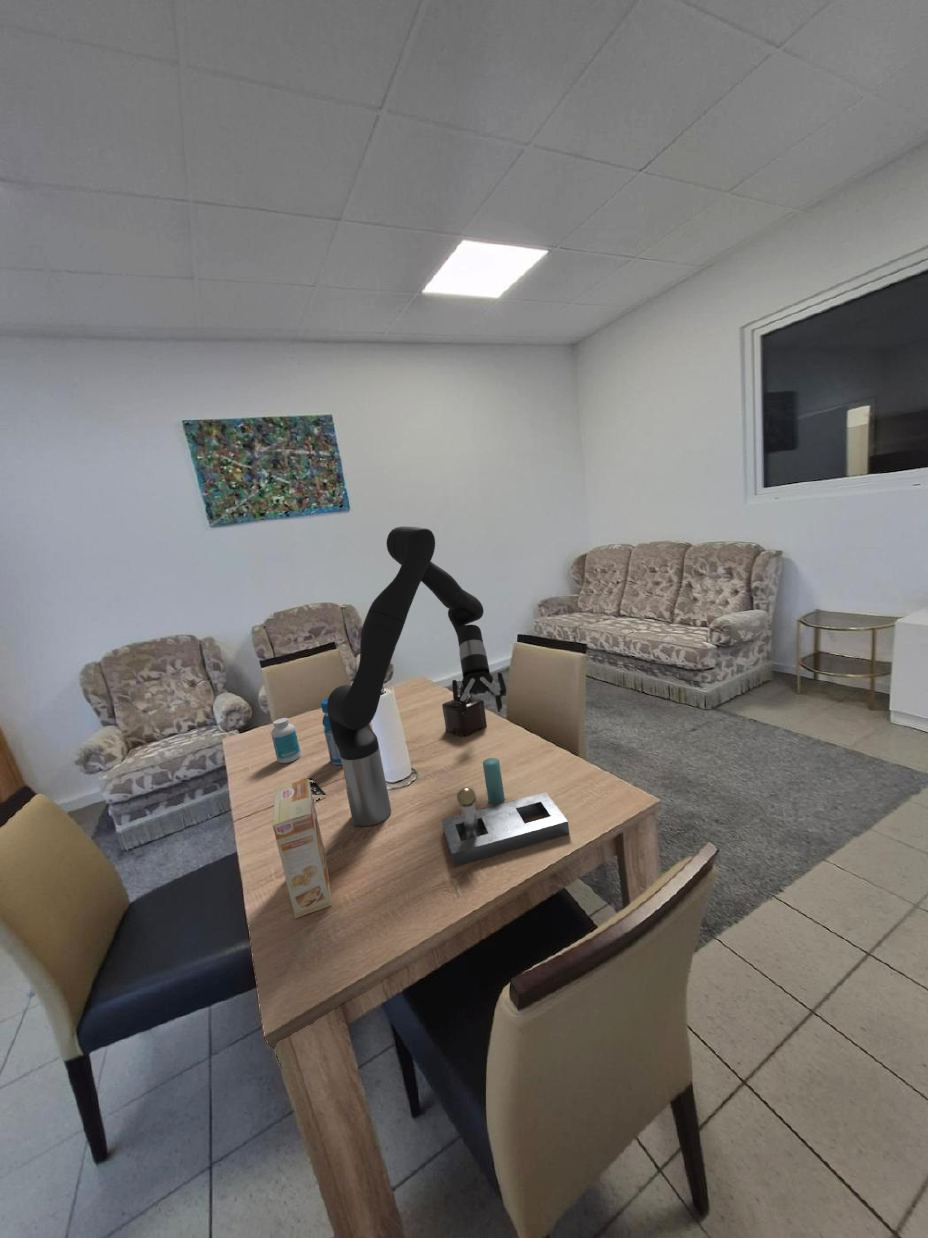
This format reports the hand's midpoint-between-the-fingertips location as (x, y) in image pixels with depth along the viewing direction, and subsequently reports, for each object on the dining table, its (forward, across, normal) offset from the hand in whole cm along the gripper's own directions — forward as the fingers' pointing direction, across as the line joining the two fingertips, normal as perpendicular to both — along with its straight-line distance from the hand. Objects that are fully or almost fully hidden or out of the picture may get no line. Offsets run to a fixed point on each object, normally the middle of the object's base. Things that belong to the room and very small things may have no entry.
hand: (483, 713), depth 125 cm
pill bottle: (-9, -65, +34) cm, 74 cm away
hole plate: (+30, 0, -5) cm, 31 cm away
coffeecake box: (+35, -40, -10) cm, 54 cm away
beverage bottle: (-4, -45, +29) cm, 54 cm away
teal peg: (+21, 0, +4) cm, 21 cm away
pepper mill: (-9, -4, +35) cm, 36 cm away
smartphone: (+8, -52, +17) cm, 56 cm away
